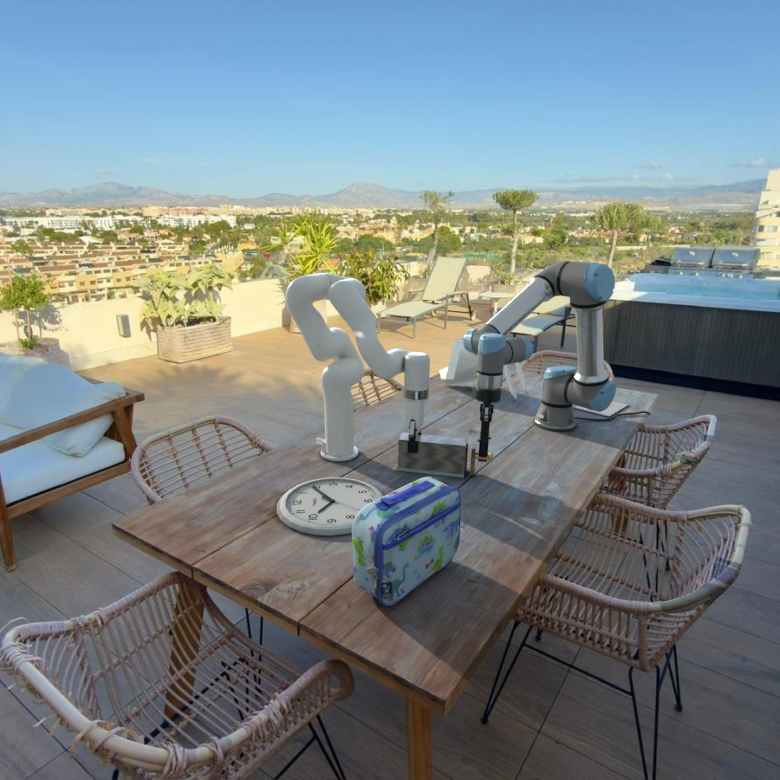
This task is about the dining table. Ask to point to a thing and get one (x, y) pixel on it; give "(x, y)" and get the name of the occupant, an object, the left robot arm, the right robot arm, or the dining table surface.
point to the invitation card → (609, 411)
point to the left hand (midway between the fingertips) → (414, 447)
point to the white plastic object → (473, 368)
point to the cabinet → (433, 455)
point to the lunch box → (405, 538)
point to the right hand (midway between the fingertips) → (482, 460)
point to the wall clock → (325, 505)
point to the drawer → (473, 457)
